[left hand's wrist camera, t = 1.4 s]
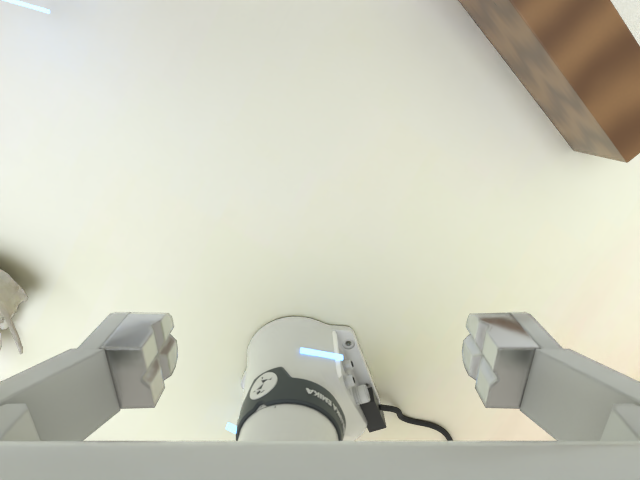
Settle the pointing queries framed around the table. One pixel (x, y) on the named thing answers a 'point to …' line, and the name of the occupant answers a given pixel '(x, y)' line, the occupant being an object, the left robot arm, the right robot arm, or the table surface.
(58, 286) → the table surface
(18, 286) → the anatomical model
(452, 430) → the table surface
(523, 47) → the bar
